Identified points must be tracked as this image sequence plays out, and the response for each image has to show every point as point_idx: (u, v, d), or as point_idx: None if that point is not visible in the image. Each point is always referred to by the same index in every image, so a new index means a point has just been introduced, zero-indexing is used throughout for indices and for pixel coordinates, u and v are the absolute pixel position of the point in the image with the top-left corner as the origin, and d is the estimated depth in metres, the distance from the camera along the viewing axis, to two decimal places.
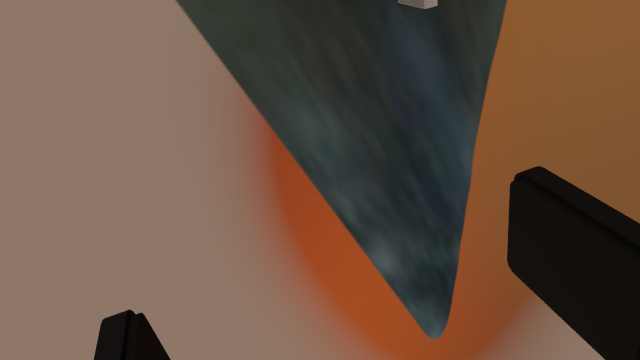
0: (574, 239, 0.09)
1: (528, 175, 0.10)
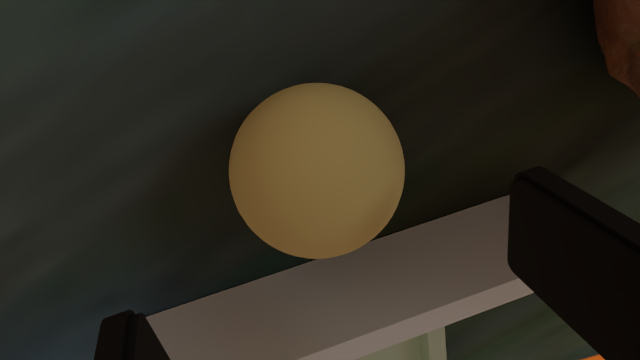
0: (574, 239, 0.09)
1: (528, 175, 0.10)
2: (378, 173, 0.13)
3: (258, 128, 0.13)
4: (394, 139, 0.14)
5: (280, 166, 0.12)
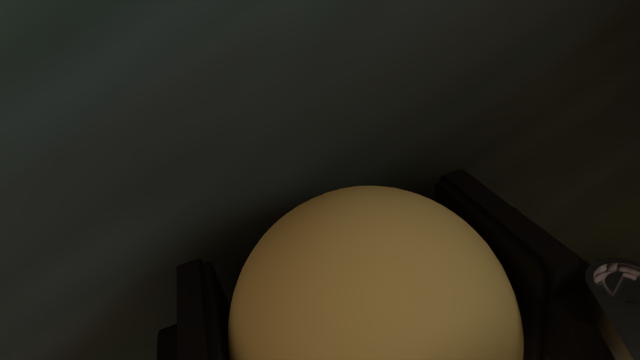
0: None
1: (448, 178, 0.11)
2: None
3: (281, 293, 0.07)
4: (512, 293, 0.08)
5: None
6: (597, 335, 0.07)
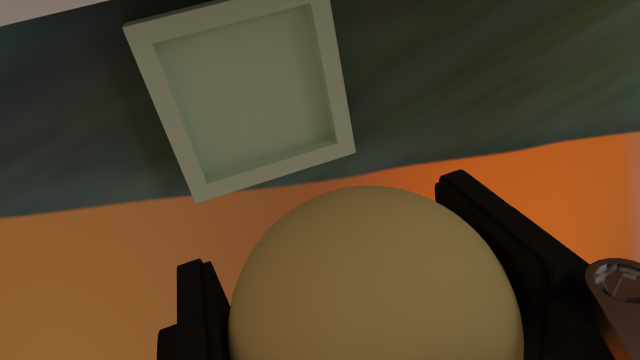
0: (482, 238, 0.09)
1: (448, 178, 0.11)
2: None
3: (281, 294, 0.07)
4: (512, 294, 0.08)
5: None
6: (597, 335, 0.07)
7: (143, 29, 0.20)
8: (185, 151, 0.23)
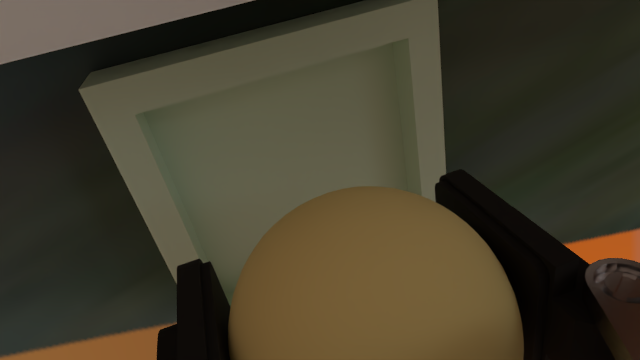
0: (482, 238, 0.09)
1: (448, 178, 0.11)
2: None
3: (281, 294, 0.07)
4: (512, 294, 0.08)
5: None
6: (597, 335, 0.07)
7: (118, 91, 0.11)
8: None
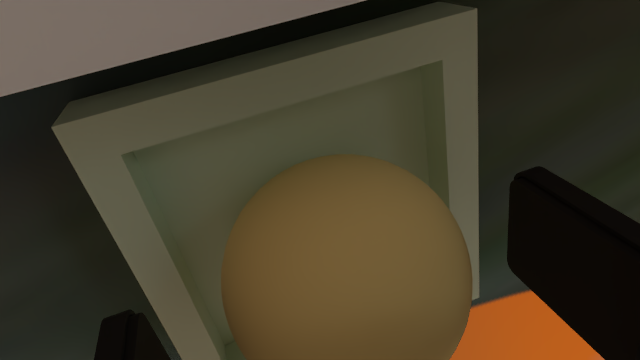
0: (574, 239, 0.09)
1: (528, 175, 0.10)
2: (447, 305, 0.08)
3: (264, 236, 0.09)
4: (461, 242, 0.09)
5: (301, 305, 0.08)
6: None
7: (100, 127, 0.09)
8: (190, 331, 0.12)
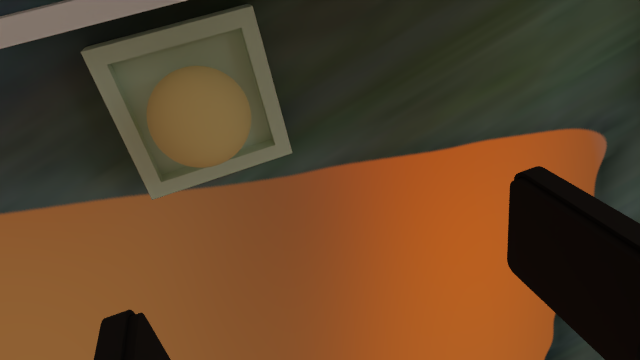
0: (574, 239, 0.09)
1: (528, 175, 0.10)
2: (222, 111, 0.23)
3: (158, 89, 0.24)
4: (236, 95, 0.24)
5: (167, 108, 0.23)
6: None
7: (98, 53, 0.24)
8: (140, 154, 0.27)
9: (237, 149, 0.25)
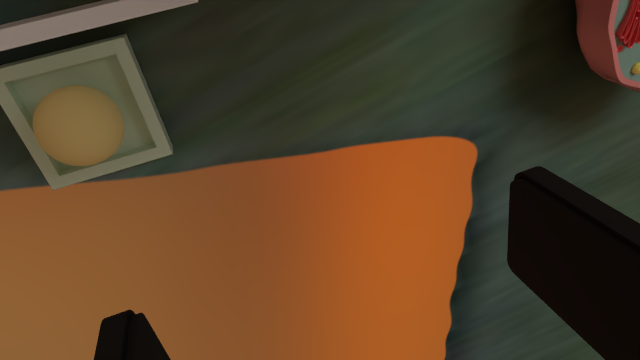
0: (574, 239, 0.09)
1: (528, 175, 0.10)
2: (87, 124, 0.30)
3: (39, 104, 0.30)
4: (103, 110, 0.31)
5: (42, 120, 0.29)
6: None
7: None
8: (39, 153, 0.34)
9: (107, 152, 0.32)
